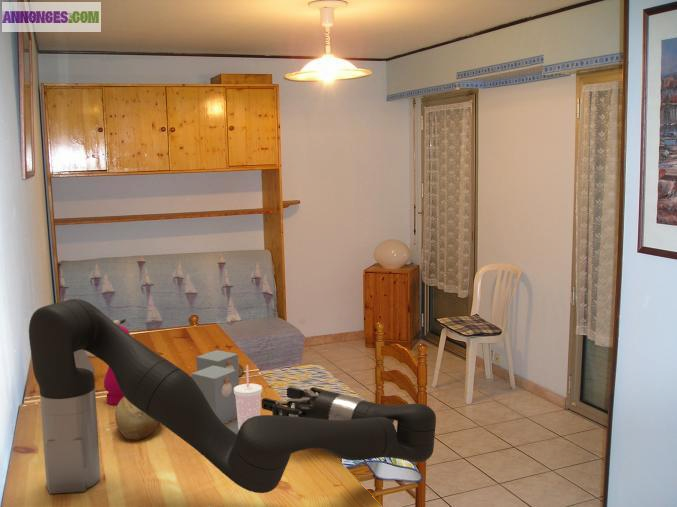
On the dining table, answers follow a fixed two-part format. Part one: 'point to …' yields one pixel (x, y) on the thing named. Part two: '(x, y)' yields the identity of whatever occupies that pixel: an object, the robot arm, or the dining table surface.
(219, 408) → the near cabinet dock
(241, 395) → the beverage cup
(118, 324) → the pepper mill
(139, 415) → the bread roll
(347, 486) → the dining table surface
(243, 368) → the pastry
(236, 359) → the far cabinet
